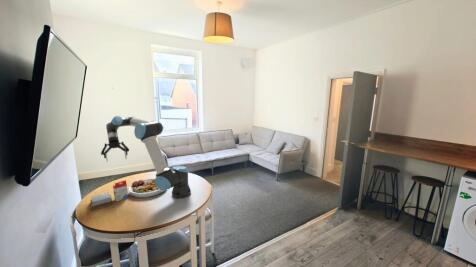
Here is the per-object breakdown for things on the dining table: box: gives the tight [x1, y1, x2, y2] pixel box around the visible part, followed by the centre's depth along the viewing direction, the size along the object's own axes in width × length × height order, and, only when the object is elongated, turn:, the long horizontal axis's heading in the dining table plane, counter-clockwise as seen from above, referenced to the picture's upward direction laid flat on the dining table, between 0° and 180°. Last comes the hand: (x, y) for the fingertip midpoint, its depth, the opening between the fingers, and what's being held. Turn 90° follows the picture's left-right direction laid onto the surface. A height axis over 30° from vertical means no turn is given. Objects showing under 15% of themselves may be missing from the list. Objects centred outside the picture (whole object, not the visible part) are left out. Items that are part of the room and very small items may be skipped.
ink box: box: [112, 180, 129, 202], centre depth 159 cm, size 8×5×15 cm, turn 141°
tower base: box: [90, 194, 114, 211], centre depth 153 cm, size 13×13×3 cm
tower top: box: [91, 192, 112, 206], centre depth 152 cm, size 11×11×3 cm
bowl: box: [128, 177, 164, 198], centre depth 174 cm, size 30×30×8 cm
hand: (116, 159), depth 167 cm, fingers open, 13 cm apart
